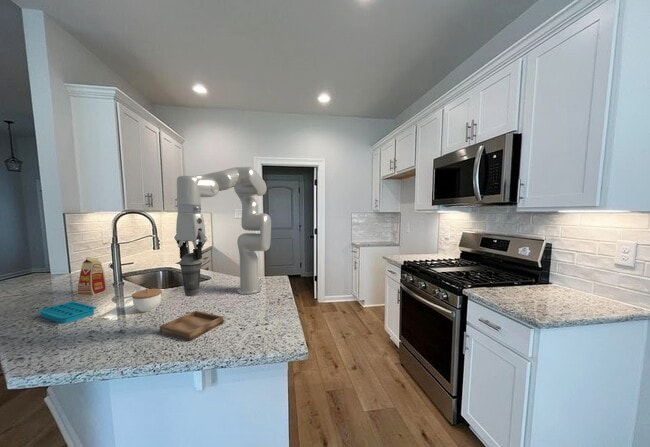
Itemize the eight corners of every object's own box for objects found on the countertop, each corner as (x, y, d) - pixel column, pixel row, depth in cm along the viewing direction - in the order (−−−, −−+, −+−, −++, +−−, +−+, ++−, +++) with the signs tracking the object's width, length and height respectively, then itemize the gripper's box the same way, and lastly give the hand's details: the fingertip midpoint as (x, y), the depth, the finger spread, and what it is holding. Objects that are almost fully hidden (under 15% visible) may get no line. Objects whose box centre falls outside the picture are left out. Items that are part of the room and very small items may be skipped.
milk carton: (93, 296, 130) (91, 257, 129) (75, 296, 130) (73, 257, 129) (108, 290, 139) (107, 254, 138) (92, 290, 139) (90, 254, 138)
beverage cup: (193, 298, 90) (191, 242, 89) (175, 296, 91) (174, 242, 90) (207, 291, 97) (205, 240, 96) (190, 290, 98) (188, 239, 97)
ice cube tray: (73, 307, 116) (72, 301, 116) (98, 314, 108) (98, 307, 108) (36, 317, 105) (36, 310, 105) (62, 326, 97) (61, 318, 97)
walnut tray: (195, 316, 105) (195, 310, 105) (223, 322, 99) (223, 316, 99) (160, 332, 91) (159, 326, 91) (189, 341, 85) (189, 333, 85)
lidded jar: (162, 310, 111) (161, 289, 110) (131, 316, 105) (130, 294, 105) (162, 303, 120) (161, 283, 120) (134, 308, 114) (133, 287, 114)
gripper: (215, 210, 93) (216, 258, 94) (182, 210, 99) (183, 255, 100) (197, 210, 86) (199, 262, 87) (163, 210, 92) (165, 258, 93)
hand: (190, 258), depth 93 cm, fingers closed on beverage cup, 6 cm apart
